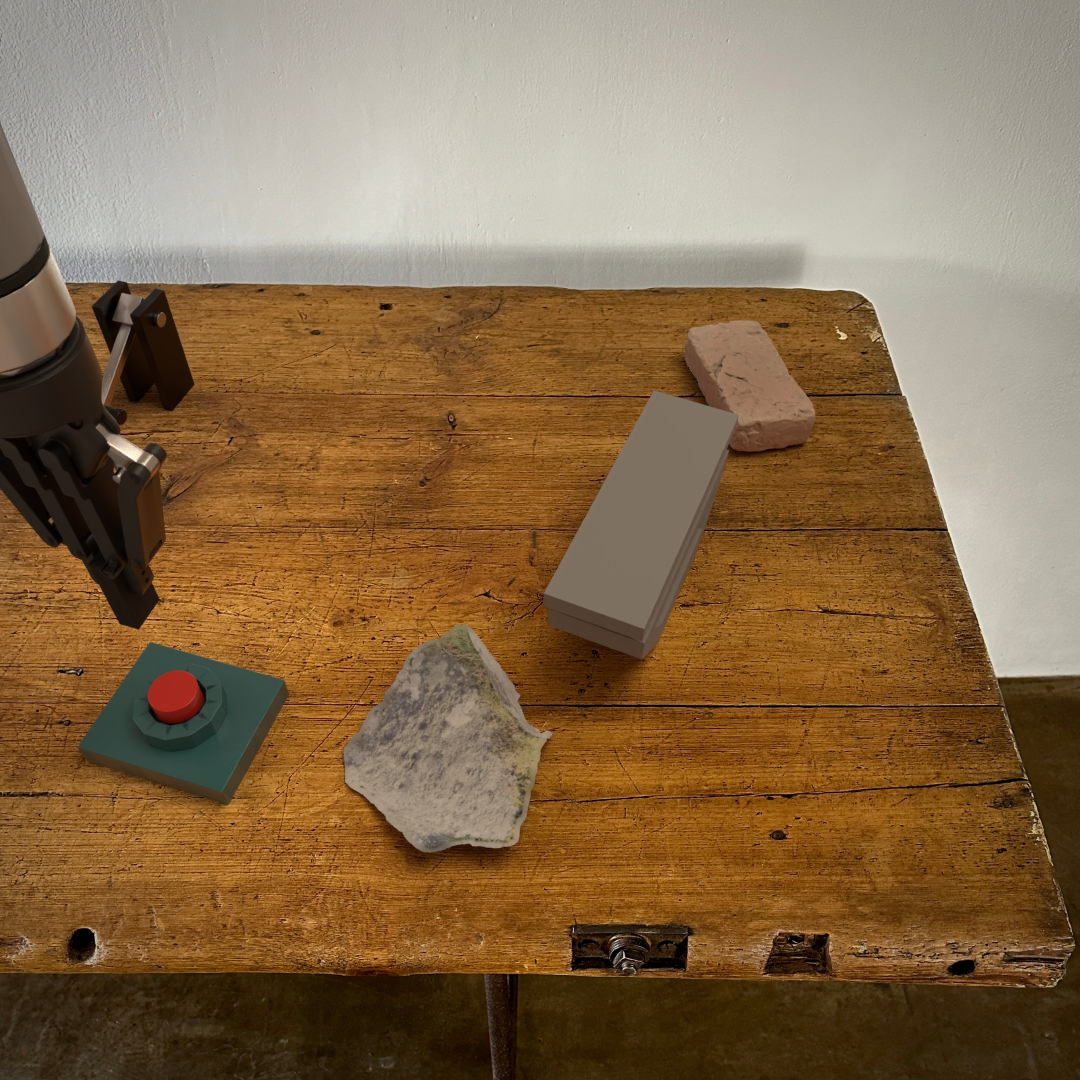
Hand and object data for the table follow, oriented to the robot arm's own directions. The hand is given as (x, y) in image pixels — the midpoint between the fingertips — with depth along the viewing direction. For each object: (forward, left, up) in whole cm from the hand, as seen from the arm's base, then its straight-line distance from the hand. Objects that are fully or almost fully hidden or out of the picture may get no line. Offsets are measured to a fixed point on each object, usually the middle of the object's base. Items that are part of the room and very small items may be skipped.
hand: (140, 611), depth 67 cm
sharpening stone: (+31, +24, -13) cm, 41 cm away
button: (+1, -1, -9) cm, 9 cm away
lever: (-21, +28, -5) cm, 35 cm away
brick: (+36, +51, -13) cm, 63 cm away
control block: (+1, -1, -13) cm, 13 cm away
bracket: (-21, +32, -13) cm, 40 cm away
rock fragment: (+21, +3, -13) cm, 25 cm away
